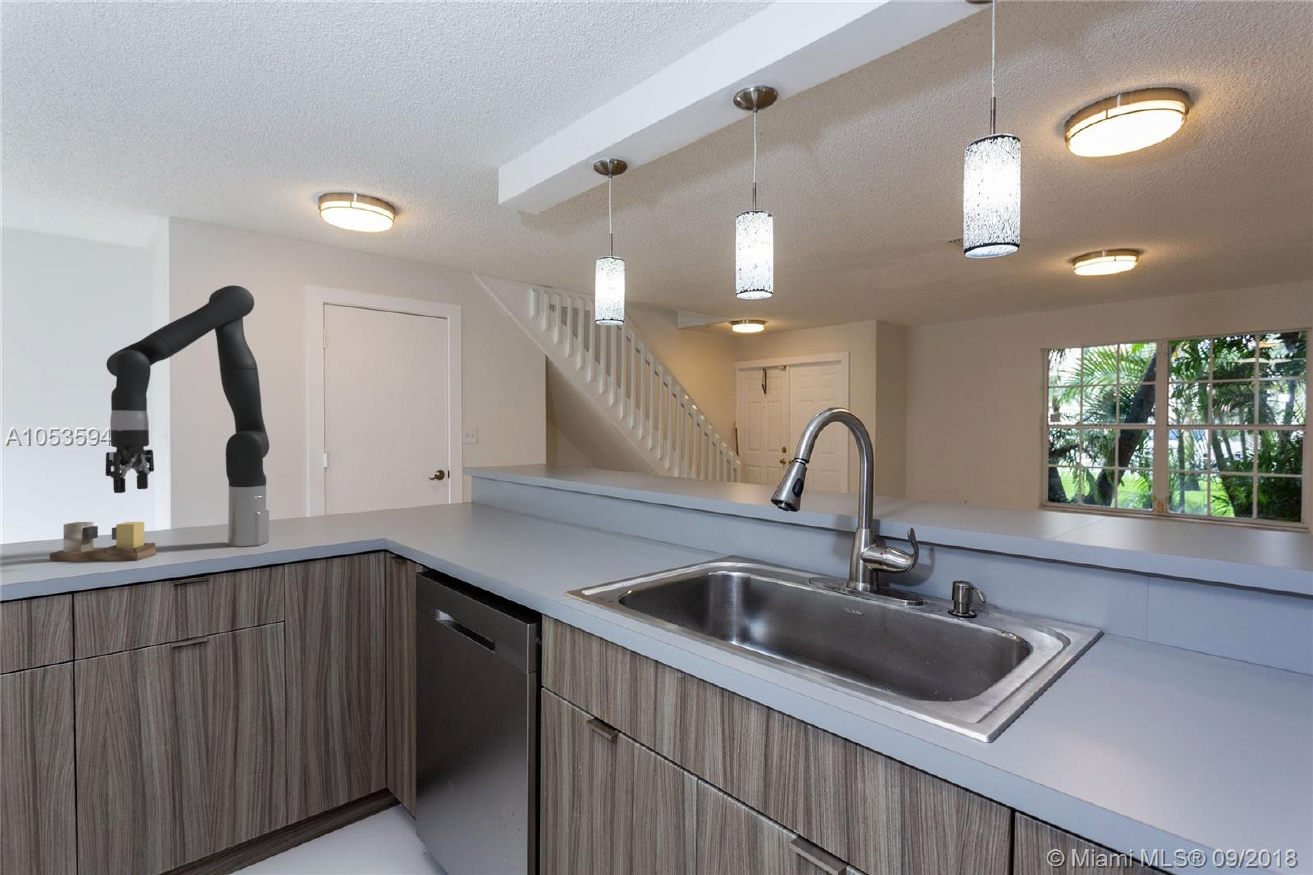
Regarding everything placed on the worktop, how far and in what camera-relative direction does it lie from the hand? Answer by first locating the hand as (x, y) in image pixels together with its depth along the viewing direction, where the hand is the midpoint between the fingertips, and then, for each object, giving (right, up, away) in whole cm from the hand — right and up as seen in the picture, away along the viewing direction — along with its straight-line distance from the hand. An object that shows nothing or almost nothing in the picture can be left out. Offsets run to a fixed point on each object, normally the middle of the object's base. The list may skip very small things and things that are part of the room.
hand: (131, 490), depth 159 cm
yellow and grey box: (-1, -15, +1) cm, 15 cm away
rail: (-7, -17, 0) cm, 19 cm away
